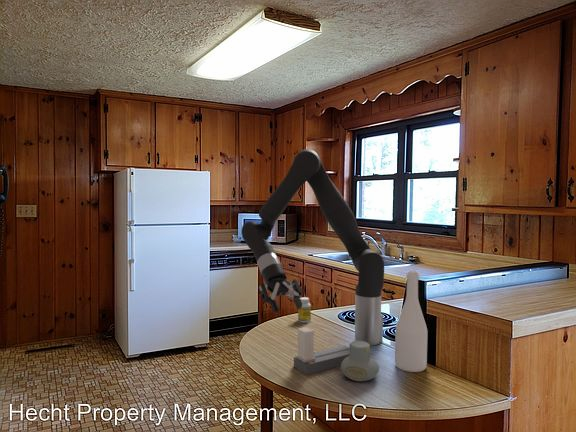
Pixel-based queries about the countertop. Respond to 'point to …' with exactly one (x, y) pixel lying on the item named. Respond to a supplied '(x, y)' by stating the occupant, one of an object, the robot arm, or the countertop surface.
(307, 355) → the fader tab
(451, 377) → the countertop surface
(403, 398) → the countertop surface
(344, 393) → the countertop surface
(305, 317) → the supplement bottle
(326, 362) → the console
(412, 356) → the wine bottle
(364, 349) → the air freshener
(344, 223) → the robot arm
